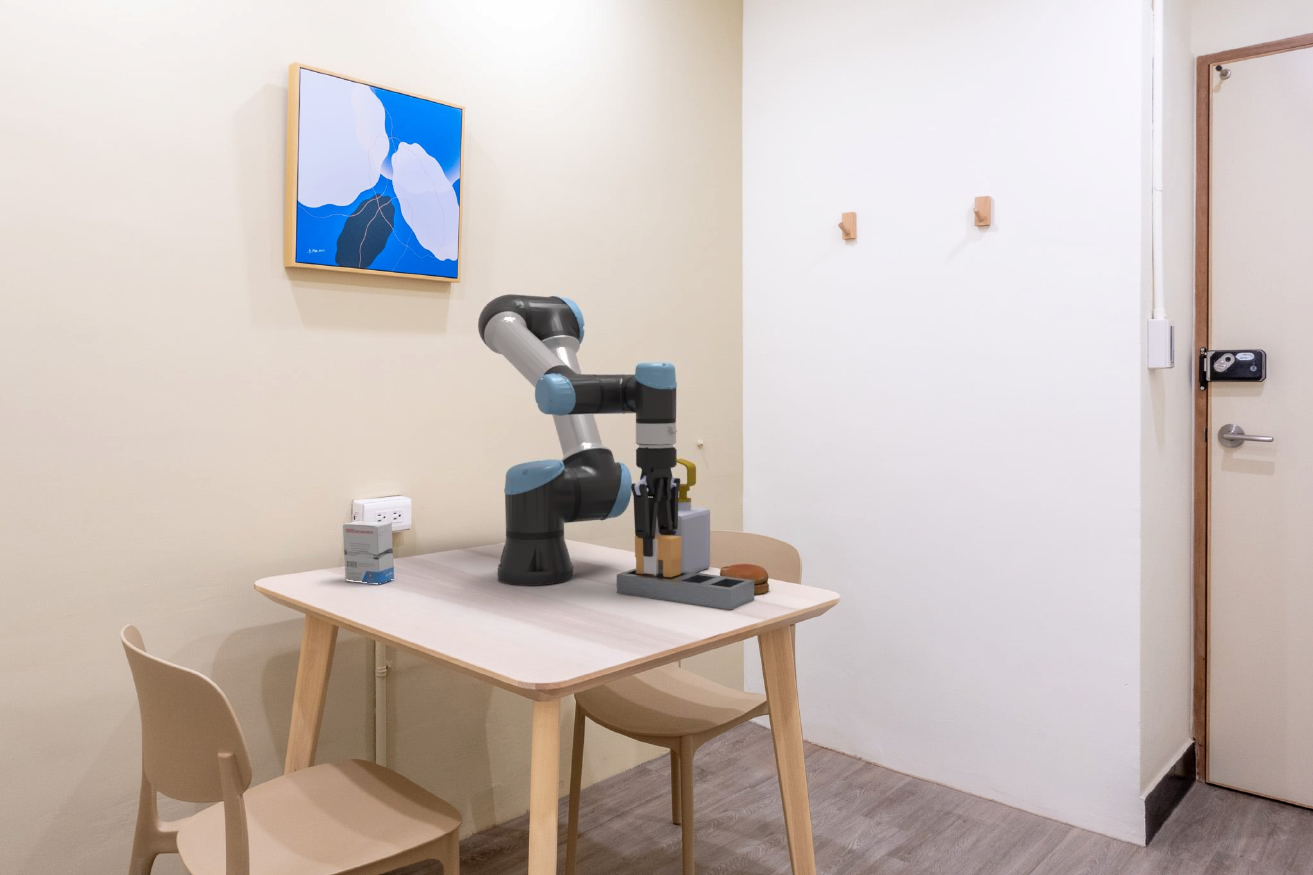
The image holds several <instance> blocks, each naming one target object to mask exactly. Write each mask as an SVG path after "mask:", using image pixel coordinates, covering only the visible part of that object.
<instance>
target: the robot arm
mask: <svg viewBox="0 0 1313 875" xmlns="http://www.w3.org/2000/svg"><path fill="white" fill-rule="evenodd" d="M584 327H585V319H584V316H583V313H582V311H581V309H580V307H579V305H578V304H577V303H576V302H575V301H574V300H572V299H570V298H567V297H560V296H557V295H552V296H542V295H541V296H537V295H526V294H513V293H511V294H503V295H500V296H498V297H495V298H493V299H491V301H489V302H488V303H486V305H485V306H484V307H483V309H482V310H481V312H480V314H479V318H478V323H477V329H478V333H479V337H480V338H481V341H483V343H484V344H485V346H487V347H488V349H489V350H490V351H492V352H493V353H496V354H499V355H502V356H503V357H504V358H505V359H506V360H507V362H509V363H510V364H511V365H512V366H513V368H515V369H516V370H517V371H518V372H519V373H520V374H521V375H522V376H523V377H524V379H526V380H527V381H528V382H529V383H530V385H531V386H533V388H535V389H534V398H535V402H536V404H537V409H538V410H539V411H540V412H541V413H543V414H545V415H550V416H552V419H553V422H554V426H555V430H556V433H557V437H558V442H559V443H560V448H561V452H562V455H563V457H562V459H544V460H540V459H539V460H534V461H533V460H531V461H528V462H523V463H519V464H516V465H512V466H511V467H509V468H508V469H507V471H506V473H505V481H504V482H505V483H504V502H505V505H504V506H505V509H504V510H505V543H504V546H503V550H502V553H501V556H500V561H499V564H498V565H497V580H498V581H499V582H502V583H504V584H509V585H517V586H541V585H542V586H543V585H544V586H545V585H552V584H558V583H563V582H566V581H569V580H571V579H572V578H574V564H573V562H572V561H571V557H570V553H569V549H568V547H567V543H566V540H565V524H567V523H580V522H589V521H605V520H607V519H613V518H614V519H615V518H618V517H620V516H621V515H624V513H625V512H626V510H627V508H628V507H629V505H630V501H631V498H632V497H631V496H633V517H634V518H633V519H634V534H635V535H634V536H637V537H638V538H642V539H643V556H644V573H647V574H655V575H656V574H658V569H660V570H663V560H658V539H654V538H655V531H656V520H658V529H659V533H660V534H661V535H669V536H671V535H675V534H676V531H673V530H677V528H678V498H679V486H680V484H681V478H679V477H673V472H672V468H676V466H677V465H678V464H677V459H678V458H677V448H676V447H674V445H675V444H677V431H678V430H677V387H678V382H677V378H676V376H677V374H676V367H675V365H674V364H672V363H671V362H640V363H638V364H636V366H635V369H634V370H635V371H634V374H626V373H624V374H620V373H619V374H617V373H616V374H595V373H593V374H590V373H589V374H587V373H586V374H584V373H583V374H582V370H581V368H580V365H579V360H578V357H577V353H579V352H578V351H579V350H580V347H581V344H582V342H583V339H584V336H585V329H584ZM607 414H608V415H609V414H610V415H612V414H622V415H625V414H635V444H636V445H638V447H636V449H635V465H636V467H637V468H639V469H640V470H641V473H640V476H639V481H638V482H637V483H633V478H632V475H631V472H630V469H629V467H628V466H627V465H626V464H625V463H623V462H620V461H618V462H617V461H615V458H614V455H613V452H612V449H610V448H608V447H606V446H605V445H603V443H602V439H601V436H600V433H599V432H600V431H599V430H598V426H597V421H596V419H595V415H607ZM672 522H673V523H672ZM658 535H659V534H658Z"/></svg>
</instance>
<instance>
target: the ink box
mask: <svg viewBox="0 0 1313 875" xmlns="http://www.w3.org/2000/svg"><path fill="white" fill-rule="evenodd" d="M342 533H343V551H344V552H343V554H344V573H345V575H344V576H345V580H346V579H348V580H353V581H362V582H367V583H378V584H380V583H383V584H386V583H387V582H386V581H389V582H391V581H392V580H391V579H394V580H395V572H394V571H395V570H394V551H393V550H394V546H393V525H392V522H390V521H389V522H386V521H385V522H384V521H365V520H356V521H352V522H346V523H344V524H343V525H342ZM390 580H391V581H390ZM385 582H386V583H385ZM380 585H381V584H380Z"/></svg>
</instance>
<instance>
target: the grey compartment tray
mask: <svg viewBox="0 0 1313 875" xmlns="http://www.w3.org/2000/svg"><path fill="white" fill-rule="evenodd" d="M616 593H617V594H623V595H629V596H635V597H642V598H649V599H655V600H656V599H657V600H662V601H668V602H674V603H682V604H688V605H693V606H694V605H696V606H703V607H710V608H713V609H723V610H728V611H731V610H733V609H735V608H736V609H737V608H738V607H741V606H743V605H745V604H747V603H749V602H752V601H754V600H755V594H754V580H749V579H741V578H734V577H726V576H720V575H718V574H717V575H716V574H708V573H702V572H687V571H681V574H679V575H676V576H673V577H663V570H660V569H658V574H656V575H655V574H647V573H646V574H637V573H636V567H635V568H633V569H629V570H626V571H623V572H622V571H621V572H620V573H617V574H616Z"/></svg>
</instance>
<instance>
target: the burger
mask: <svg viewBox="0 0 1313 875" xmlns="http://www.w3.org/2000/svg"><path fill="white" fill-rule="evenodd" d="M719 576H726V577H734V578H741V579H749V580H754V595H761V594H765V593H768V591H770V590H769V589H770V584H769V582H768V581H769V574H768V572H767V570H766V569H765V568H764V567H762V566H760V565H756V564H750V563H749V564H748V563H738V564H731V565H727V566H722V567H721V568H720V572H719Z"/></svg>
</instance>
